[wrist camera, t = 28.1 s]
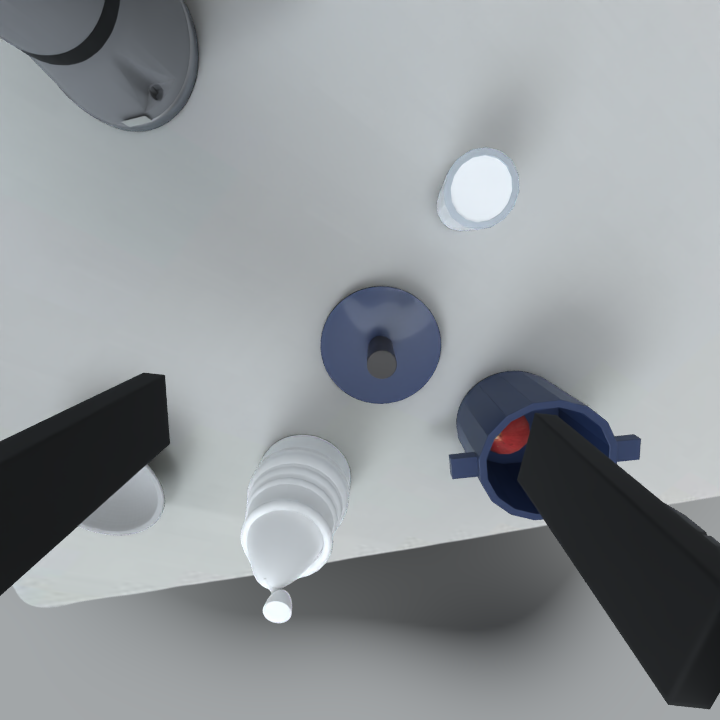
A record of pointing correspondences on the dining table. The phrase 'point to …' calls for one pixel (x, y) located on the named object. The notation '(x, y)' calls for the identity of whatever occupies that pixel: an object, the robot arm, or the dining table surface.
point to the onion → (512, 437)
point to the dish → (129, 507)
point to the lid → (380, 345)
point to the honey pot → (293, 515)
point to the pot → (525, 398)
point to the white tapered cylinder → (478, 190)
